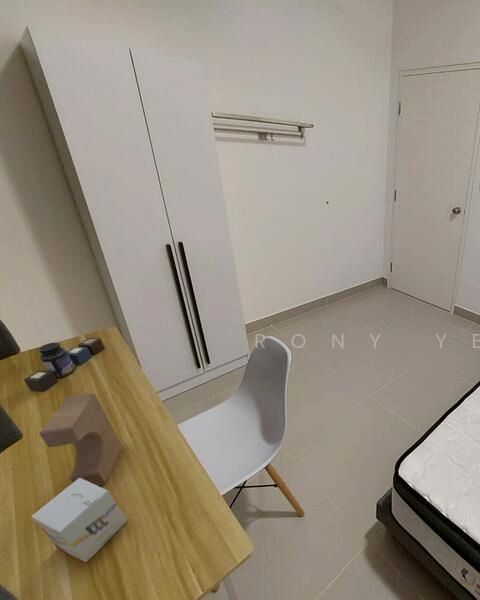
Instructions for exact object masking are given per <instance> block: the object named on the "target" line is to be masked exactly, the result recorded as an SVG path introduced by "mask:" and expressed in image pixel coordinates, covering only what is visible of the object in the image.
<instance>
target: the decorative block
mask: <svg viewBox="0 0 480 600" xmlns="http://www.w3.org/2000/svg"><path fill="white" fill-rule="evenodd" d="M38 434H39V436H40V437H41V439H42V440H43V441H44V443H45V444H46V446H47V447H48V448H54V447H61V446H66V445H71V444H72V445H73V446H74V448H75V461H74V467H73V470H72V472H71V474H70V477H69V479H70V481H71V482H72V483H73V482H75V481H76V480H77V479H78V478H81V479H84V480H86V481H88V482H90V483H92V484H95V485H97V486H99V487H101V486H104V485H105V484H106V483H107V480H108V479H109V476H110V475H111V473H112V470H113V469H114V466H115V464H116V462H117V460H118V458H119V457H120V454H121V452H122V450H123V445H122V443H121V440H120V439H119V437H118V435H117V434H116V431H115V429H114V428H113V426H112V424H111V422H110V420H109V418H108V416H107V414H106V412H105V411H104V409H103V407H102V405H101V403H100V401H99V398H98V397H97V395H96V393H94V392H90V393H84V394H77V395H71V396H67V397H66V398H65V399H64V400H63V402H61V404H60V405H59V407H58V408H57V410H56V411H55V412H54V413H53V414H52V416H51V417H50V418H49V420H47V422H46V423H45V425H44V426H43V427H42V428H41V430H40V431H39V433H38Z"/></svg>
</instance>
